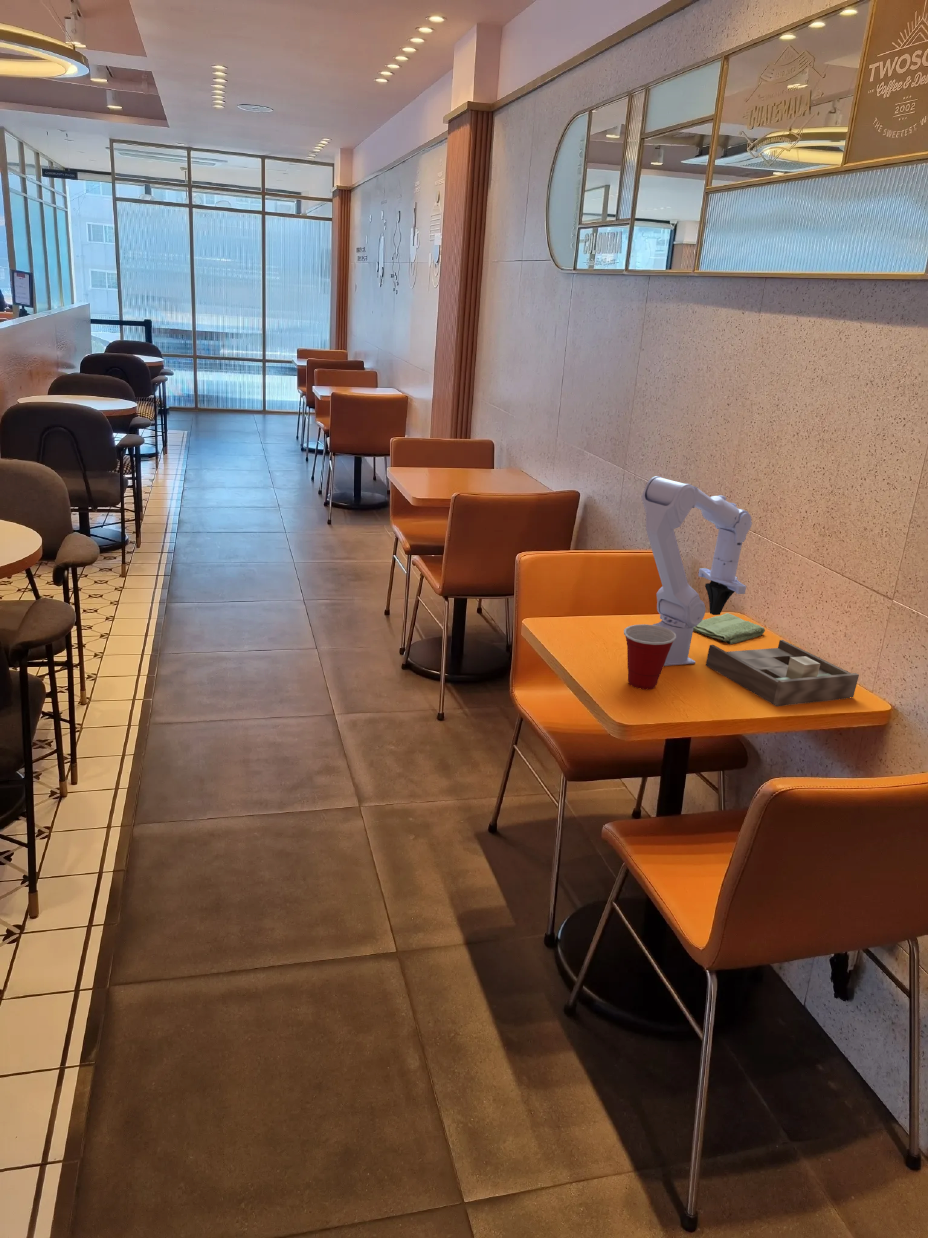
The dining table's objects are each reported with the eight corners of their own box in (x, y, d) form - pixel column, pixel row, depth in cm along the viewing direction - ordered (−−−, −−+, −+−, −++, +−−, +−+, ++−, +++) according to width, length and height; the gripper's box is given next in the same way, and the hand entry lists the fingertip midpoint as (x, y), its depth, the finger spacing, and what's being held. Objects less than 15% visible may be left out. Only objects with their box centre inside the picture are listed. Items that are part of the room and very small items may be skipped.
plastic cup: (605, 676, 193) (614, 623, 189) (648, 673, 197) (657, 622, 194) (632, 696, 184) (642, 641, 180) (676, 693, 188) (686, 639, 184)
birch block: (800, 684, 192) (804, 665, 191) (785, 676, 196) (790, 657, 195) (815, 682, 194) (820, 663, 193) (801, 674, 198) (805, 656, 196)
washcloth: (685, 630, 231) (687, 618, 230) (725, 622, 242) (728, 610, 241) (727, 647, 222) (730, 635, 221) (767, 637, 233) (770, 625, 232)
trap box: (776, 706, 187) (782, 682, 185) (705, 665, 206) (710, 642, 204) (853, 698, 196) (859, 674, 194) (778, 659, 215) (783, 637, 214)
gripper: (760, 567, 204) (748, 623, 209) (719, 550, 217) (708, 603, 221) (736, 567, 201) (724, 624, 206) (695, 550, 214) (685, 604, 218)
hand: (714, 614), depth 213 cm, fingers closed
